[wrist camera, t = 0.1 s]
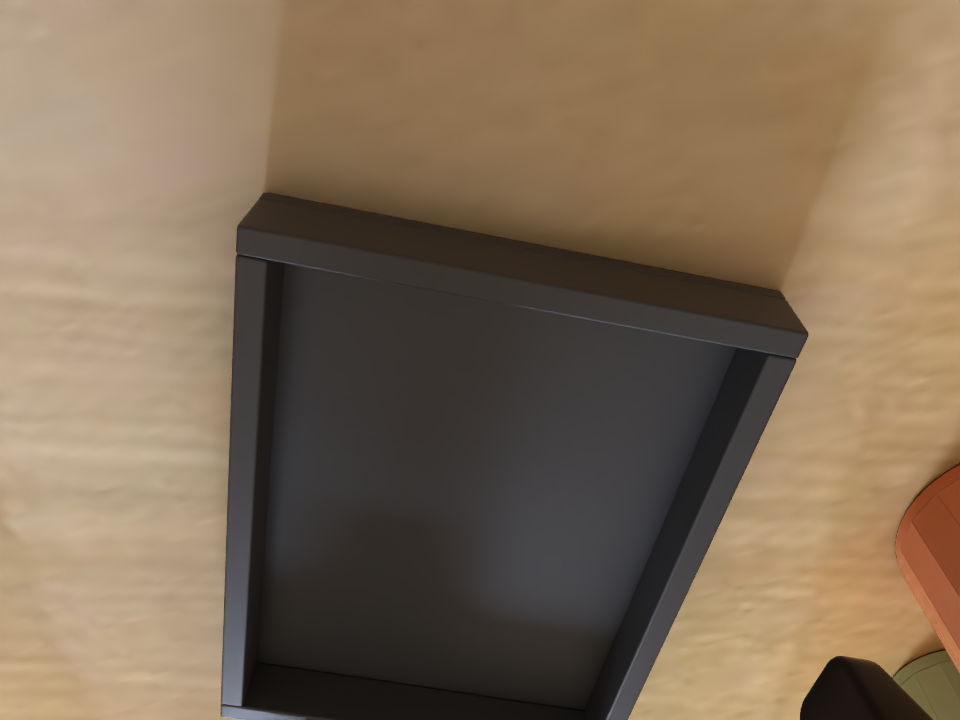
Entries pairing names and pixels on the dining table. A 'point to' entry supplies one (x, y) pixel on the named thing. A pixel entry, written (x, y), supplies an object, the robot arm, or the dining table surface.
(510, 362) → the tray
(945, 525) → the big cup
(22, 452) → the dining table surface
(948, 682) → the small cup
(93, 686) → the dining table surface
